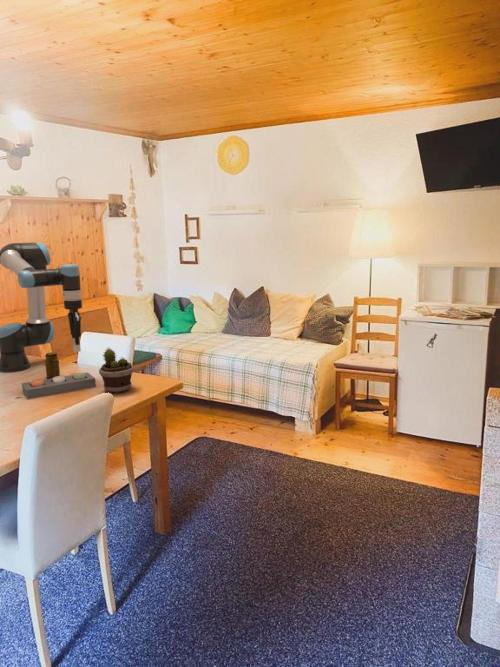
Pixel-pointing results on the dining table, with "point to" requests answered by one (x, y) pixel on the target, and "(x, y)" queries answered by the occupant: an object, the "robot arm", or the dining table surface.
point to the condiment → (52, 365)
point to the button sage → (79, 376)
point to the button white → (58, 379)
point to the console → (58, 386)
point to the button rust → (37, 383)
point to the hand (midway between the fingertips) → (77, 351)
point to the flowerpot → (116, 373)
